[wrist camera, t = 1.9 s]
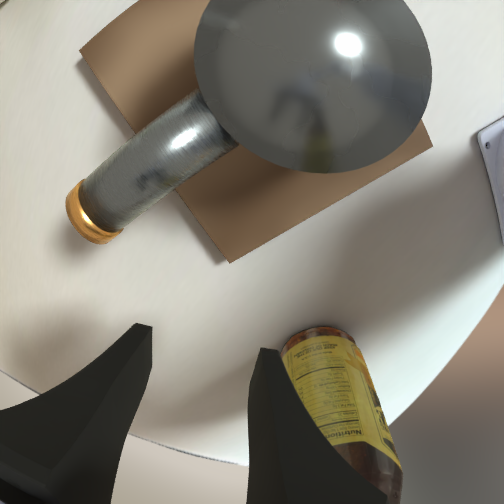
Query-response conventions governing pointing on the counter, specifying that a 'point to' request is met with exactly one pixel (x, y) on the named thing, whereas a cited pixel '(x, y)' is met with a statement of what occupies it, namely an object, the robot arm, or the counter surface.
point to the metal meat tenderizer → (272, 101)
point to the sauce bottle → (344, 403)
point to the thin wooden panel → (236, 161)
